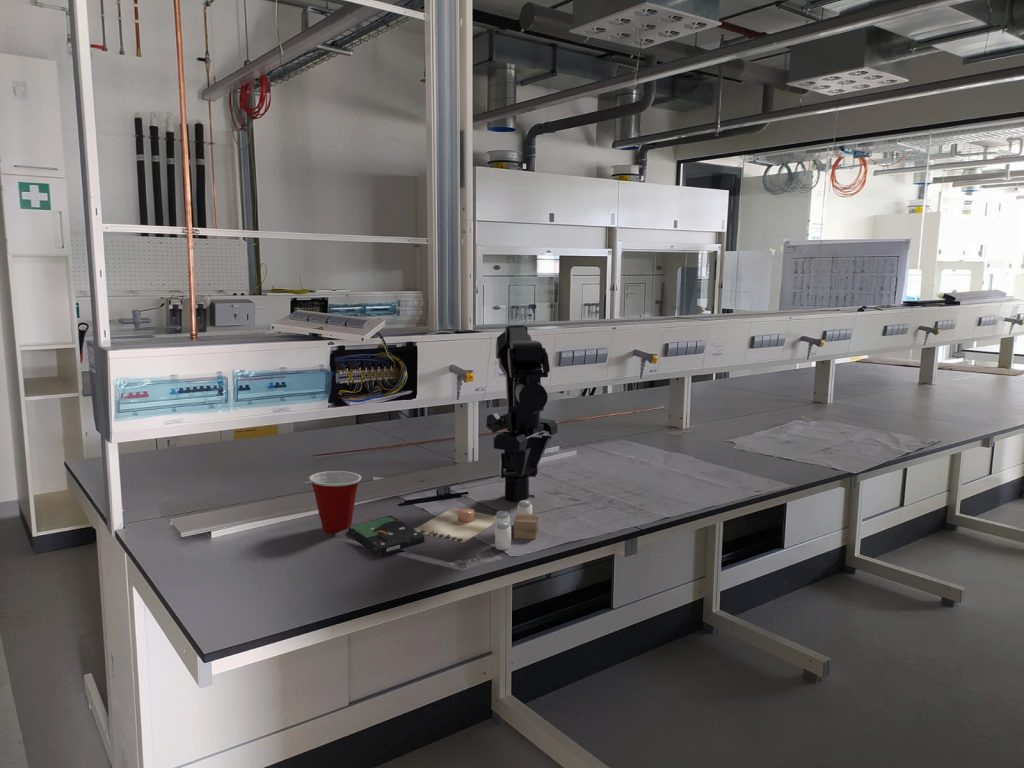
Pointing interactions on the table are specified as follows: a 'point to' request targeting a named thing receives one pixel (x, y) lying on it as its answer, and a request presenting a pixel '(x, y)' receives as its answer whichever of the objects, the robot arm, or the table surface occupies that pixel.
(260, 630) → the table surface
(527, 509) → the vial
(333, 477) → the plastic cup
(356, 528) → the disk drive
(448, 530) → the beige flat board
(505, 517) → the vial
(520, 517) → the walnut block
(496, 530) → the vial
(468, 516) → the puck
